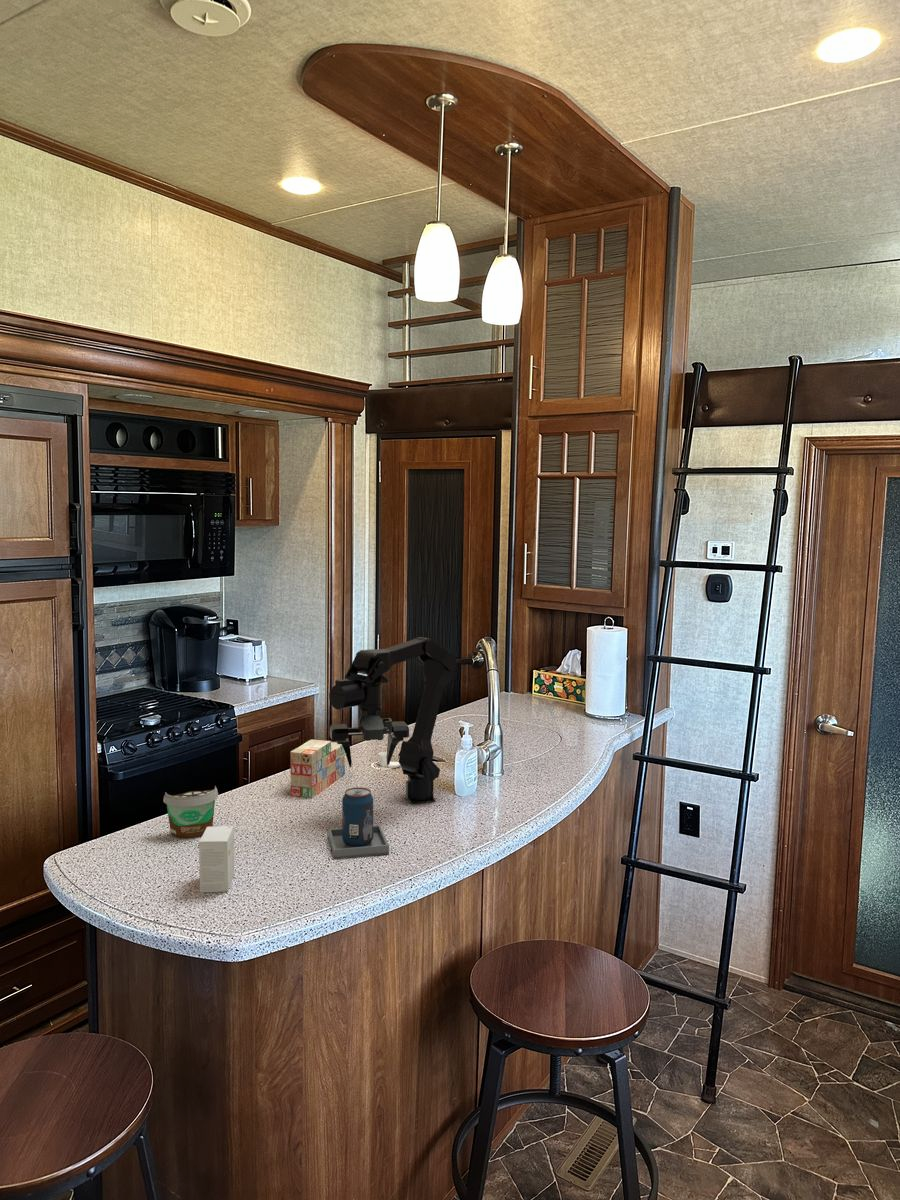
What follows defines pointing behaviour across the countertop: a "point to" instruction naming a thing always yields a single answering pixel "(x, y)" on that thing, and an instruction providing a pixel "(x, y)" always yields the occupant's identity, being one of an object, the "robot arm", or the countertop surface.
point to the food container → (190, 812)
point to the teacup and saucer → (385, 761)
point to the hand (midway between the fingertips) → (369, 765)
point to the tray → (342, 851)
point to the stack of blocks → (315, 767)
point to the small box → (216, 859)
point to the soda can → (357, 817)
